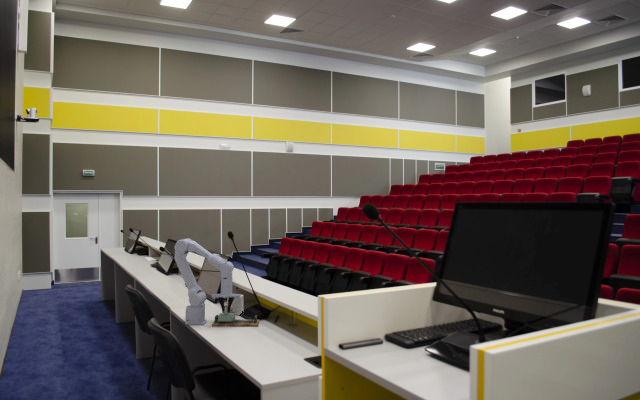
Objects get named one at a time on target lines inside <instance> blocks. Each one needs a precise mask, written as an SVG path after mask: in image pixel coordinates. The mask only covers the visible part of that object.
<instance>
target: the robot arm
mask: <svg viewBox="0 0 640 400" xmlns="http://www.w3.org/2000/svg"><path fill="white" fill-rule="evenodd" d="M173 248H174V261H175V264H176V265H177V268H178V270H179V273H180V275H181V277H182V279H183V281H184V283H185V286H186V288H187V290H188V291H187V292H188V293H187V295H188V302H189V304H190V305H186V308H185V318H184V319H185V323H184V325H205V323H206V322H207V319H206V317H205V316H206V303H205V302H206V300H207V298H208V297H207V294H206V292H205V291H204V290H203V288H202V287H201V286H200V285H199V284H198V282H197V280H196V278H195V275H194V273H193V271H192V269H191V267H190V264H189V262H188V260H187V256H188V254H189V253H190V252H195V253H197V254H198V255H200V256H202V257H203V258H206V259H207V262H208V264H210V265H212V266H213V267H215V268H216V269H217V270H219V273H220V275H221V276H220V293H212V294H211V299H218V303H219V304H220V309H221V313H224V306H225V301H226V299H227V298H229V299H228V313H230V308H231V305H232V302H233V300H234V298H238V299H240V298H241V295H242V294H241V293H233V271H234V269H235V266H234V264H233V263H232V262H231V261H228V260H227V259H226V258H225V259H224V258H223V257H221V256H220V254H219V253H211V252H210V251H208V250H207V249H205V248H204V247H203V246H202V245H200V244H199V243H198V242H196V241H195V240H193V239H191V238H188V237H186V238H183V239H179V240H177V241H176V243H175V244H174V247H173Z"/></svg>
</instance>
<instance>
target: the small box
mask: <svg viewBox="0 0 640 400" xmlns="http://www.w3.org/2000/svg"><path fill="white" fill-rule="evenodd" d="M226 299H227V301H226V302H227V303H226V305H228V299H229V298H226ZM244 304H245V303H244V294H241V298H240V299H238V298H234V300H233V302H232V309H235V317H236V316H239V315H240V314H241V313H242V311H243V312H244V307H245V306H244ZM239 317H240V316H239Z"/></svg>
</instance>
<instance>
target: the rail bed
mask: <svg viewBox="0 0 640 400" xmlns="http://www.w3.org/2000/svg"><path fill="white" fill-rule="evenodd" d="M218 316H219V314H216V315H215V316H214V320H213V322H212V324H211V327H216V328H217V327H224V328H227V327H230V328H232V327H235V328H237V327H240V328H241V327H243V328H244V327H247V328H248V327H250V328H251V327H255V328H257V327H259V324H260V319H258V315H257V314H255V315H254V317H253V319H238V318H237V319H236V318H235V319H233V320H232V321H218Z"/></svg>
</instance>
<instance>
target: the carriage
mask: <svg viewBox="0 0 640 400" xmlns="http://www.w3.org/2000/svg"><path fill="white" fill-rule="evenodd" d="M233 318H234V313H228V305H227V304H224V313H222V312H220V313H219V314H218V321H232V320H233Z"/></svg>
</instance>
